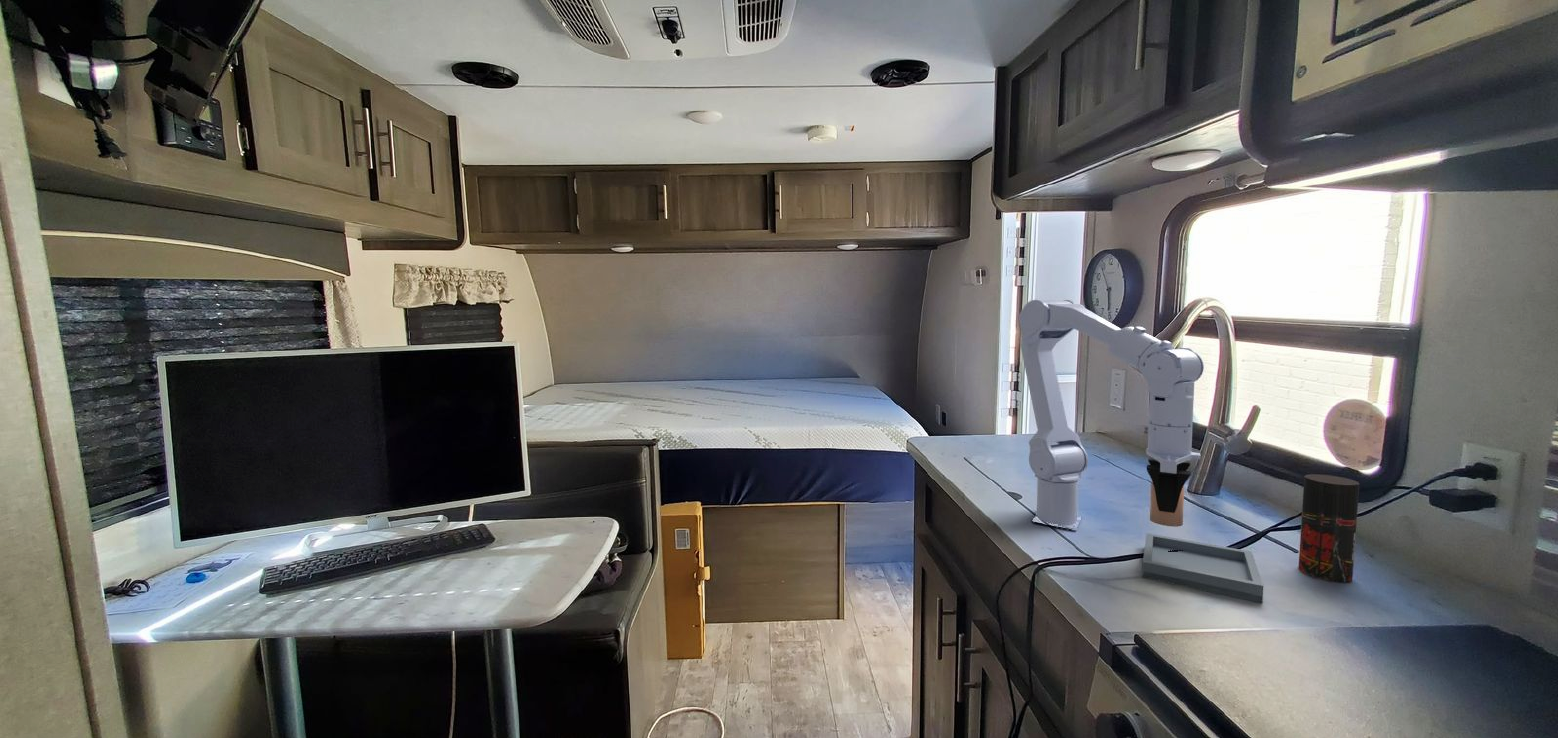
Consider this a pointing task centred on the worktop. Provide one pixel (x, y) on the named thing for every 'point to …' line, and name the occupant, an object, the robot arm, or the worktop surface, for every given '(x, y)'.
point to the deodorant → (1328, 527)
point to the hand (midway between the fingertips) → (1166, 507)
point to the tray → (1202, 567)
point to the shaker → (1166, 517)
